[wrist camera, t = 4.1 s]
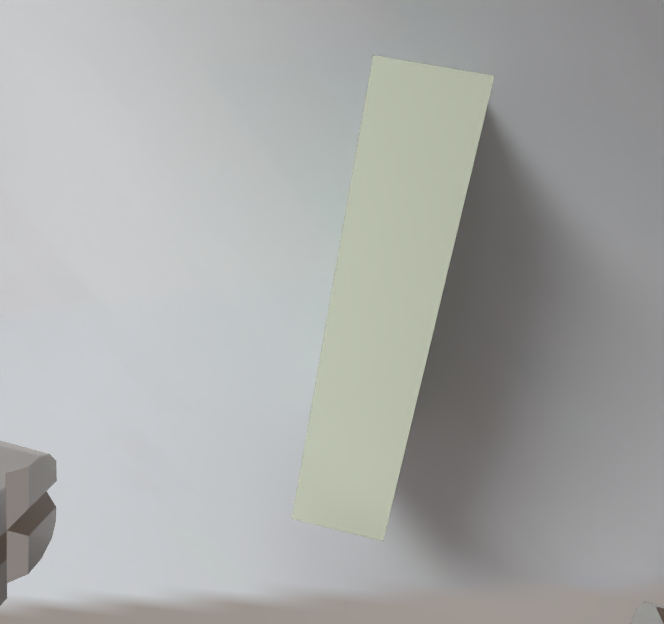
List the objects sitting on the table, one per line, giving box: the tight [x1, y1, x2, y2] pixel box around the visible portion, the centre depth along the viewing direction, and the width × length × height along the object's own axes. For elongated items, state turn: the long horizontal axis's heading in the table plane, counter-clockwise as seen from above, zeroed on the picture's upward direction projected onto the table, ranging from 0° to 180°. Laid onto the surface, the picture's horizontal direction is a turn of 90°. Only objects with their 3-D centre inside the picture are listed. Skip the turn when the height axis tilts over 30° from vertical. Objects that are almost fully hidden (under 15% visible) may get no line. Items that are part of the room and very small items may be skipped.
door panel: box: [292, 55, 494, 541], centre depth 21 cm, size 3×14×8 cm, turn 171°
